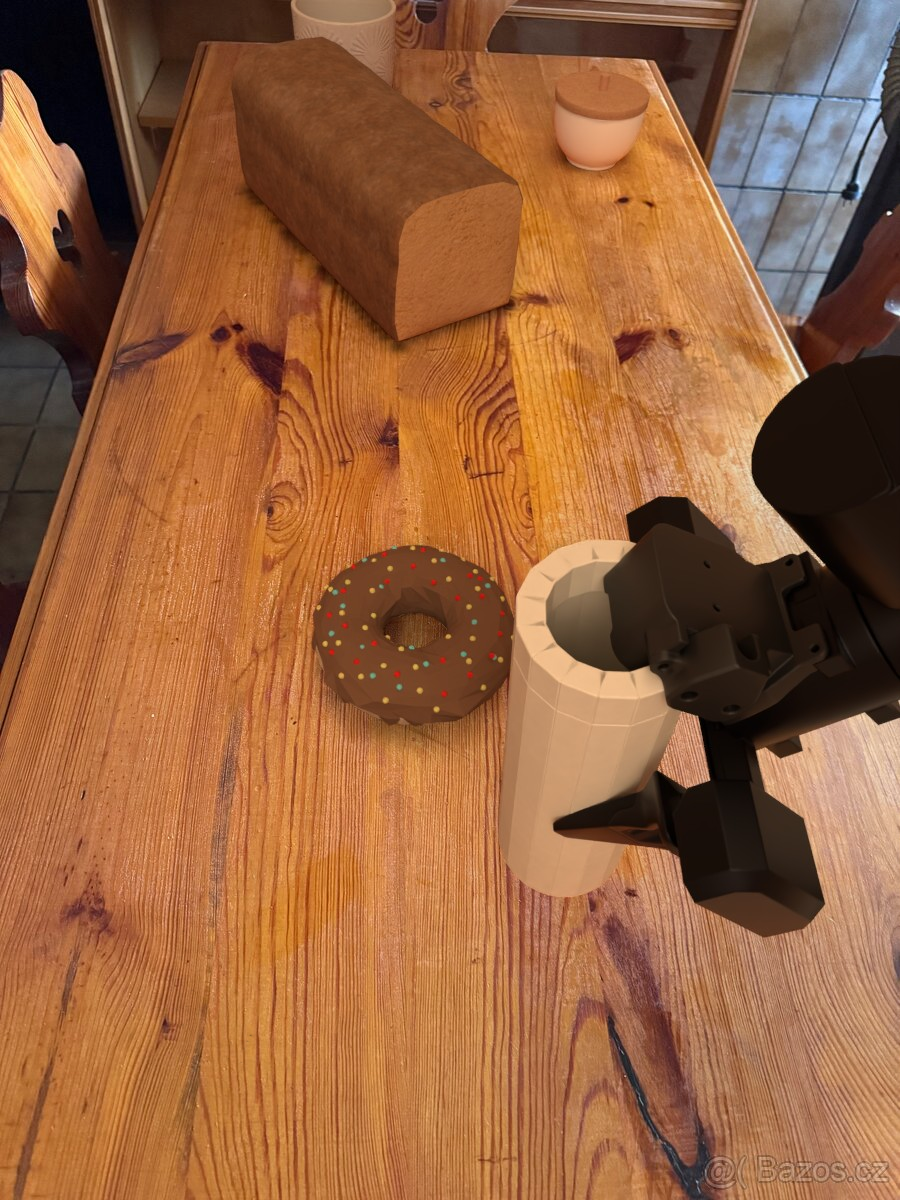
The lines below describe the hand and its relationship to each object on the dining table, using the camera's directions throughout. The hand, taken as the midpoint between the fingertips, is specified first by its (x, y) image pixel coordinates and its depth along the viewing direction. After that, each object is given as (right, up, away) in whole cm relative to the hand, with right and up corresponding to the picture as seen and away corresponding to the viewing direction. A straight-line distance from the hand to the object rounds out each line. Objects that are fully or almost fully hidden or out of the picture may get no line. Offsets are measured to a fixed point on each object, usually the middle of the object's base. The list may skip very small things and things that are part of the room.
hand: (553, 755), depth 42 cm
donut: (-7, +3, +19) cm, 21 cm away
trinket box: (+12, +61, +65) cm, 90 cm away
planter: (-18, +71, +72) cm, 103 cm away
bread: (-13, +45, +51) cm, 69 cm away
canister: (+1, -6, +8) cm, 10 cm away
